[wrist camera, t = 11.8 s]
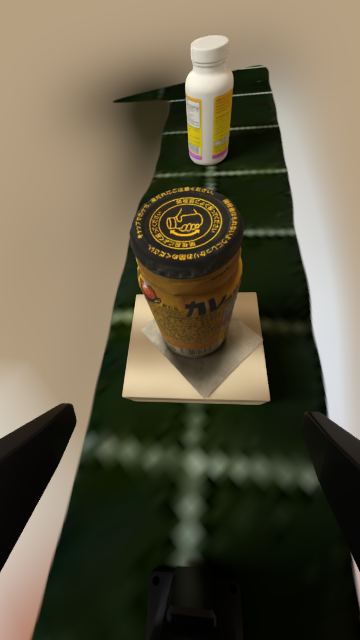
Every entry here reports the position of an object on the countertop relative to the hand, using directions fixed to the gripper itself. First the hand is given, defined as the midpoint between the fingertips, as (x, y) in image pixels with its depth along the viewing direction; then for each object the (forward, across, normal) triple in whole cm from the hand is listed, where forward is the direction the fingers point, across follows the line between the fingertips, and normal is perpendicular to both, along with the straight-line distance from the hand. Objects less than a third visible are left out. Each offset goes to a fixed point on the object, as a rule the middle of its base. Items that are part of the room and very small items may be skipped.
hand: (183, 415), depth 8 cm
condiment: (+12, 0, +2) cm, 12 cm away
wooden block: (+14, 0, +5) cm, 15 cm away
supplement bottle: (+40, -2, -20) cm, 45 cm away
